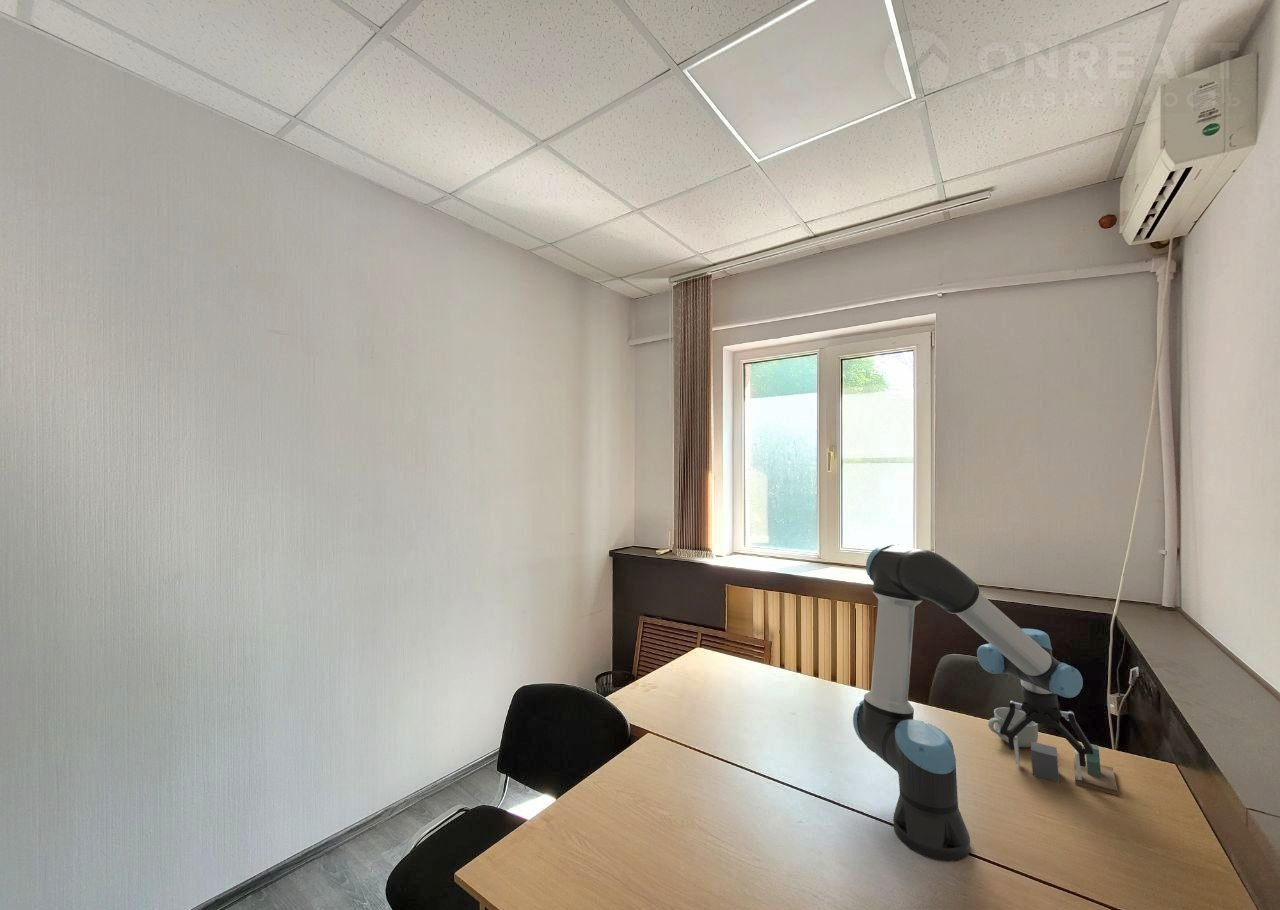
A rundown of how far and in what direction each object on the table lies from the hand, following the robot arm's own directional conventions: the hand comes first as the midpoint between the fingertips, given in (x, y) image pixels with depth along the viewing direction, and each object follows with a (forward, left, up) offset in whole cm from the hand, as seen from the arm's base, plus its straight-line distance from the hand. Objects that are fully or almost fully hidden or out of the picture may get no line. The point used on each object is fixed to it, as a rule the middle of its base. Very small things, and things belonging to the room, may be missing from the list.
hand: (1047, 769), depth 132 cm
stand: (+5, -10, -1) cm, 11 cm away
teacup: (+14, +8, -1) cm, 16 cm away
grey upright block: (0, 0, -1) cm, 1 cm away
